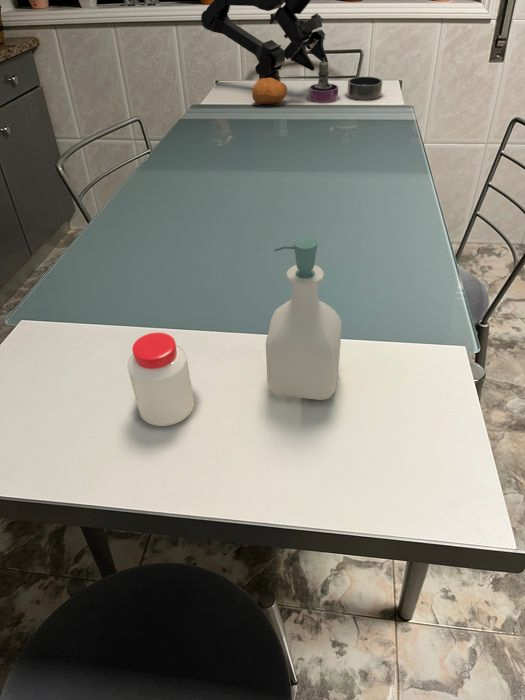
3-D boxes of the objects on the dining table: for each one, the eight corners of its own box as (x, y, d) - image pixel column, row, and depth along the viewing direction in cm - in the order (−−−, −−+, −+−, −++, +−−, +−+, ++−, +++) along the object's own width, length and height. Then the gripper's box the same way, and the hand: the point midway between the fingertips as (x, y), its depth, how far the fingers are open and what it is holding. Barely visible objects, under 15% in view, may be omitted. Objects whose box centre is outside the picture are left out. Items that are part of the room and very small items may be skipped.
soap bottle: (276, 356, 85) (273, 220, 70) (339, 362, 83) (349, 224, 69) (265, 400, 78) (258, 259, 63) (333, 407, 76) (342, 264, 62)
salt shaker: (314, 94, 188) (315, 55, 180) (332, 94, 187) (333, 55, 179) (313, 99, 183) (313, 60, 176) (330, 100, 182) (332, 60, 175)
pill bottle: (198, 387, 80) (189, 327, 73) (188, 427, 74) (176, 366, 67) (146, 385, 81) (132, 326, 74) (132, 424, 75) (115, 364, 68)
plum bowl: (304, 101, 183) (304, 90, 181) (314, 93, 190) (314, 82, 188) (332, 103, 180) (332, 92, 178) (341, 95, 187) (342, 84, 185)
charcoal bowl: (342, 98, 184) (343, 84, 181) (352, 89, 192) (353, 75, 189) (375, 101, 180) (377, 87, 177) (384, 92, 188) (386, 77, 185)
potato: (256, 98, 188) (255, 74, 183) (289, 99, 186) (289, 75, 181) (250, 107, 181) (249, 82, 176) (284, 107, 179) (284, 83, 174)
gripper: (291, 10, 165) (323, 55, 167) (321, 0, 177) (350, 42, 179) (270, 38, 173) (300, 80, 176) (299, 26, 185) (327, 66, 188)
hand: (320, 66), depth 179 cm, fingers open, 9 cm apart
